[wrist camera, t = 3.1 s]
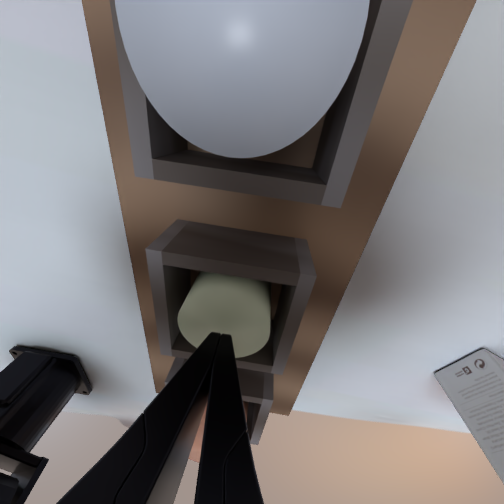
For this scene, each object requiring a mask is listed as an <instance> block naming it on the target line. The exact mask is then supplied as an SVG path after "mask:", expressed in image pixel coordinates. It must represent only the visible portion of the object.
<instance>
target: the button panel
mask: <svg viewBox="0 0 504 504" xmlns="http://www.w3.org/2000/svg"><path fill="white" fill-rule="evenodd" d="M475 3H476V0H370V2H369V9H368V17H367V21H366V25H365V29H364V34H363V38H362V42H361V45H360V48H359V51H358V53H357V56H356V59H355V62H354V64H353V67H352V69H351V71H350V73H349V76H348V78H347V80H346V82H345V84H344V86H343V87H342V89H341V91H340V93H339V94H338V96H337V98H336V99H335V101H334V102H333V103H332V105H331V106H330V108H329V109H328V110H327V112H326V113H325V114H324V115H323V116H322V118H321V119H320V120H319V121H318V122H317V123H316V124H315V125H314V126H313V127H312V128H311V129H310V130H309V131H308V132H306V133H305V134H304V135H303V136H302V137H300V138H299V139H297V140H296V141H294V142H293V143H292V144H290V145H288V146H286V147H284V148H282V149H280V150H278V151H275V152H273V153H270V154H267V155H263V156H258V157H252V158H232V157H225V156H221V155H216V154H213V153H211V152H208V151H205V150H203V149H201V148H199V147H197V146H196V145H194V144H192V143H190V142H189V141H188V140H186V139H185V138H183V137H182V136H180V135H179V134H178V133H177V132H176V131H175V130H174V129H173V128H171V127H170V126H169V125H168V124H167V122H166V121H165V120H164V119H163V118H162V117H161V116H160V115H159V113H158V112H157V111H156V109H155V108H154V107H153V105H152V104H151V102H150V101H149V100H148V98H147V96H146V94H145V93H144V91H143V89H142V88H141V86H140V84H139V82H138V80H137V78H136V76H135V73H134V71H133V69H132V67H131V64H130V61H129V59H128V56H127V53H126V50H125V47H124V44H123V40H122V36H121V32H120V29H119V23H118V18H117V12H116V7H115V0H82V4H83V10H84V15H85V20H86V26H87V31H88V36H89V41H90V47H91V52H92V57H93V62H94V68H95V73H96V78H97V84H98V89H99V94H100V99H101V105H102V110H103V115H104V120H105V126H106V131H107V136H108V142H109V147H110V152H111V157H112V163H113V168H114V173H115V178H116V184H117V189H118V194H119V200H120V205H121V210H122V215H123V221H124V226H125V231H126V236H127V242H128V247H129V252H130V258H131V263H132V268H133V273H134V279H135V284H136V289H137V294H138V300H139V305H140V310H141V316H142V321H143V326H144V331H145V337H146V342H147V347H148V352H149V358H150V363H151V368H152V374H153V379H154V384H155V389H156V393H160V391H161V390H162V389H163V388H164V387H165V385H166V384H167V383H168V382H169V381H170V380H171V378H172V377H173V376H174V375H175V374H176V372H177V371H178V370H179V369H180V368H181V367H182V365H183V364H184V363H185V362H186V361H187V359H188V358H189V357H190V356H191V355H192V354H193V352H194V351H195V350H196V349H197V348H196V347H195V346H193V345H192V344H191V343H190V342H188V341H187V340H186V338H185V337H184V336H183V334H182V333H181V331H180V329H179V326H178V313H179V311H180V309H181V307H182V305H183V303H184V301H185V299H186V297H187V295H188V293H189V291H190V290H191V288H192V286H193V284H194V282H195V280H196V278H197V276H198V274H199V272H200V271H205V272H211V273H217V274H223V275H229V276H236V277H242V278H248V279H254V280H260V281H267V282H271V318H270V336H269V339H268V341H267V343H266V344H265V346H264V347H263V348H262V349H260V350H259V351H257V352H256V353H254V354H251V355H248V356H245V357H239V358H235V359H236V364H237V370H238V376H239V382H240V388H241V394H242V400H243V401H247V402H249V403H248V413H247V432H248V434H249V440H250V444H256V445H258V443H259V440H260V437H261V435H262V432H263V429H264V426H265V423H266V420H267V417H268V414H269V412H271V413H277V414H282V415H289V414H290V412H291V409H292V407H293V405H294V403H295V401H296V398H297V396H298V394H299V392H300V390H301V387H302V385H303V383H304V381H305V379H306V376H307V374H308V372H309V370H310V367H311V365H312V363H313V361H314V359H315V356H316V354H317V352H318V350H319V348H320V345H321V343H322V341H323V339H324V336H325V334H326V332H327V330H328V328H329V325H330V323H331V321H332V319H333V317H334V314H335V312H336V310H337V308H338V306H339V303H340V301H341V299H342V297H343V294H344V292H345V290H346V288H347V286H348V283H349V281H350V279H351V277H352V275H353V272H354V270H355V268H356V266H357V264H358V261H359V259H360V257H361V255H362V252H363V250H364V248H365V246H366V244H367V241H368V239H369V237H370V235H371V233H372V230H373V228H374V226H375V224H376V221H377V219H378V217H379V215H380V213H381V210H382V208H383V206H384V204H385V202H386V199H387V197H388V195H389V193H390V191H391V188H392V186H393V184H394V182H395V179H396V177H397V175H398V173H399V171H400V168H401V166H402V164H403V162H404V160H405V157H406V155H407V153H408V151H409V148H410V146H411V144H412V142H413V140H414V137H415V135H416V133H417V131H418V129H419V126H420V124H421V122H422V120H423V118H424V115H425V113H426V111H427V109H428V106H429V104H430V102H431V100H432V98H433V95H434V93H435V91H436V89H437V87H438V84H439V82H440V80H441V78H442V76H443V73H444V71H445V69H446V67H447V64H448V62H449V60H450V58H451V56H452V53H453V51H454V49H455V47H456V45H457V42H458V40H459V38H460V36H461V33H462V31H463V29H464V27H465V25H466V22H467V20H468V18H469V16H470V14H471V11H472V9H473V7H474V5H475Z"/></svg>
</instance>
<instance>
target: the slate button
mask: <svg viewBox="0 0 504 504" xmlns="http://www.w3.org/2000/svg"><path fill="white" fill-rule="evenodd" d="M369 2H370V0H115V7H116V12H117V18H118V23H119V29H120V32H121V36H122V40H123V44H124V47H125V50H126V53H127V56H128V59H129V61H130V64H131V67H132V69H133V71H134V73H135V76H136V78H137V80H138V82H139V84H140V86H141V88H142V89H143V91H144V93H145V94H146V96H147V98H148V100H149V101H150V102H151V104H152V105H153V107H154V108H155V109H156V111H157V112H158V113H159V115H160V116H161V117H162V118H163V119H164V120H165V121H166V122H167V124H168V125H169V126H170V127H171V128H173V129H174V130H175V131H176V132H177V133H178V134H179V135H180V136H182V137H183V138H185V139H186V140H188V141H189V142H190V143H192V144H194V145H196V146H197V147H199V148H201V149H203V150H205V151H208V152H211V153H213V154H216V155H221V156H225V157H232V158H252V157H258V156H263V155H267V154H270V153H273V152H275V151H278V150H280V149H282V148H284V147H286V146H288V145H290V144H292V143H293V142H294V141H296V140H297V139H299V138H300V137H302V136H303V135H304V134H305V133H306V132H308V131H309V130H310V129H311V128H312V127H313V126H314V125H315V124H316V123H317V122H318V121H319V120H320V119H321V118H322V116H323V115H324V114H325V113H326V112H327V110H328V109H329V108H330V106H331V105H332V103H333V102H334V101H335V99H336V98H337V96H338V94H339V93H340V91H341V89H342V87H343V86H344V84H345V82H346V80H347V78H348V76H349V73H350V71H351V69H352V67H353V64H354V62H355V59H356V56H357V53H358V51H359V48H360V45H361V42H362V38H363V34H364V29H365V25H366V21H367V17H368V9H369Z"/></svg>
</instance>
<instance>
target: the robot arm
mask: <svg viewBox="0 0 504 504" xmlns="http://www.w3.org/2000/svg"><path fill="white" fill-rule="evenodd" d="M9 352H10V353H11V355H12V356H13V358H14V359H15V360H14V361H12V362H11V363H10V364H9V365H8V366H7V367H6V368H5V369H3V370H2V371H1V372H0V469H4V470H6V471H9V472H11V473H12V474H11V476H9V475H6V474H3V473H0V504H24V502H25V501H26V499H27V497H28V495H29V494H30V492H31V490H32V488H33V487H34V485H35V483H36V481H37V480H38V478H39V476H40V475H41V473H42V471H43V469H44V468H45V466H46V464H47V462H48V460H49V459H47V458H45V457H38V456H36V455H33V454H31V453H30V451H31V450H32V449H33V447H34V446H35V445H36V443H37V442H38V441H39V439H40V438H41V437H42V436H43V434H44V433H45V432H46V430H47V429H48V428H49V426H50V425H51V424H52V422H53V421H54V420H55V418H56V417H57V416H58V414H59V413H60V412H61V411H62V409H63V408H64V407H65V405H66V404H67V403H68V401H69V400H70V399H71V397H72V396H73V395H74V393H79V394H85V395H89V394H90V392H91V391H92V388H91V386H90V384H89V382H88V380H87V378H86V376H85V374H84V371H83V369H82V367H81V365H80V363H79V361H78V359H77V358H76V357H74V356H71V355H65V354H59V353H53V352H47V351H41V350H35V349H30V348H24V347H18V346H14V347H13V348H12V349H10V350H9ZM206 404H207V409H206V417H205V424H204V432H203V440H202V447H201V455H200V462H199V470H198V478H197V486H196V494H195V501H194V504H264V502H263V498H262V494H261V491H260V487H259V483H258V479H257V475H256V471H255V466H254V461H253V456H252V451H251V446H250V440H249V434H248V432H247V423H246V417H245V411H244V405H243V400H242V394H241V388H240V382H239V376H238V370H237V364H236V359H235V353H234V347H233V341H232V336H231V335H230V334H224V333H223V334H221V333H218V332H211V333H210V334H209V335H208V336H207V337H206V338H205V339H204V341H203V342H202V343H201V344H200V345H199V346H198V348H197V349H196V350H195V351H194V352H193V354H192V355H191V356H190V357H189V358H188V359H187V361H186V362H185V363H184V364H183V365H182V367H181V368H180V369H179V370H178V371H177V372H176V374H175V375H174V376H173V377H172V378H171V380H170V381H169V382H168V383H167V384H166V385H165V387H164V388H163V389H162V390H161V391H160V393H159V394H158V395H157V396H156V397H155V398H154V400H153V401H152V402H151V403H150V404H149V406H148V407H147V408H146V409H145V410H144V414H143V413H142V414H141V415H140V416H139V417H138V418H137V420H136V421H135V422H134V423H133V424H132V425H131V427H130V428H129V429H128V430H127V431H126V432H125V433H124V434H123V436H122V437H121V438H120V439H119V440H118V441H117V442H116V443H115V444H114V446H113V447H112V448H111V449H110V450H109V451H108V452H107V453H106V454H105V455H104V456H103V457H102V458H101V459H100V460H99V461H98V462H97V463H96V464H95V465H94V466H93V467H92V468H91V469H90V470H89V471H88V472H87V473H86V474H85V475H84V476H83V477H82V478H81V479H80V480H79V481H78V482H77V483H76V484H75V485H74V486H73V487H72V488H71V489H70V490H69V491H68V492H67V493H66V494H65V495H64V496H63V497H62V498H61V499H60V500H59V501H58V502H57V503H56V504H173V503H174V500H175V497H176V494H177V491H178V488H179V485H180V482H181V479H182V476H183V473H184V470H185V467H186V464H187V461H188V458H189V455H190V452H191V449H192V446H193V443H194V440H195V437H196V434H197V431H198V428H199V425H200V422H201V419H202V416H203V413H204V410H205V407H206Z"/></svg>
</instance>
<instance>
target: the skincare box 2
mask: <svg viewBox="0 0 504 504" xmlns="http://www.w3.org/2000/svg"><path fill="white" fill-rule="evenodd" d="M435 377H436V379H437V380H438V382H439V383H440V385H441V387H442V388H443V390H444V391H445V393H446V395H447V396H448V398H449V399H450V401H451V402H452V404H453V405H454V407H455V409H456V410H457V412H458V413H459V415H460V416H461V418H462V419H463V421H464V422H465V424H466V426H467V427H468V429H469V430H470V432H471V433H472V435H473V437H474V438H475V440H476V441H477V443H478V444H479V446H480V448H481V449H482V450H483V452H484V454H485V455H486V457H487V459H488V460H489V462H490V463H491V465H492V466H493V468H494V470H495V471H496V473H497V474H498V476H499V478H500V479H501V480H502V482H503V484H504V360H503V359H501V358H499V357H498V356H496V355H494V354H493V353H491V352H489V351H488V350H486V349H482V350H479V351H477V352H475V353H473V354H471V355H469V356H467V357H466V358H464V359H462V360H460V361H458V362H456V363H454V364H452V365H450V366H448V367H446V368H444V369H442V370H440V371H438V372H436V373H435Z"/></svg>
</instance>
